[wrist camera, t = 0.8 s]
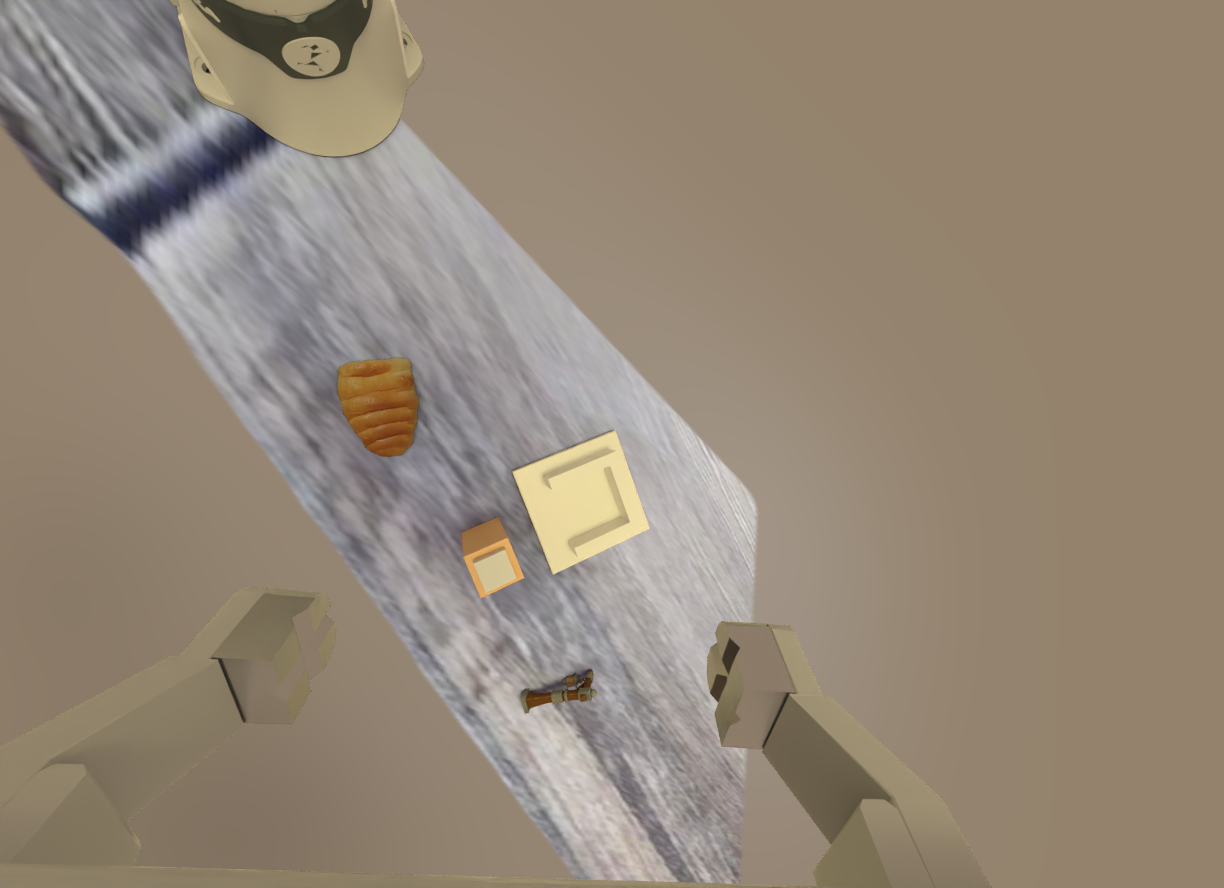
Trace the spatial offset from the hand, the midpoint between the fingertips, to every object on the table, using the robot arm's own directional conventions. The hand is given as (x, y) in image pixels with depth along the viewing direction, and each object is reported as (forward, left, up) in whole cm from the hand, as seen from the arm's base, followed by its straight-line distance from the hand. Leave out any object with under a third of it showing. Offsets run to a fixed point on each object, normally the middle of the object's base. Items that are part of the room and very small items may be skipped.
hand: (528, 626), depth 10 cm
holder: (+9, +10, -41) cm, 43 cm away
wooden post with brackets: (+27, 0, -42) cm, 49 cm away
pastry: (-8, -5, -42) cm, 43 cm away
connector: (+9, -1, -41) cm, 42 cm away
